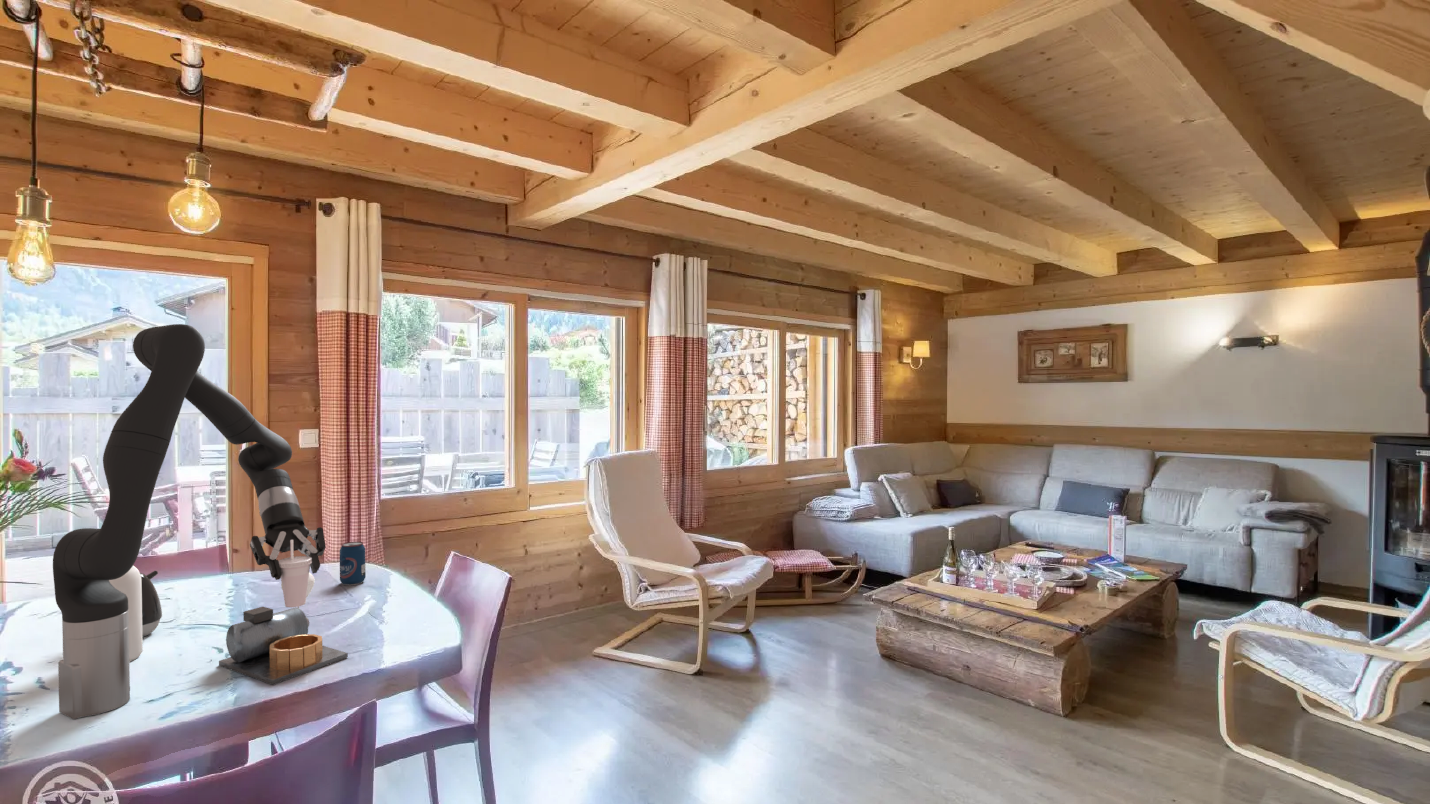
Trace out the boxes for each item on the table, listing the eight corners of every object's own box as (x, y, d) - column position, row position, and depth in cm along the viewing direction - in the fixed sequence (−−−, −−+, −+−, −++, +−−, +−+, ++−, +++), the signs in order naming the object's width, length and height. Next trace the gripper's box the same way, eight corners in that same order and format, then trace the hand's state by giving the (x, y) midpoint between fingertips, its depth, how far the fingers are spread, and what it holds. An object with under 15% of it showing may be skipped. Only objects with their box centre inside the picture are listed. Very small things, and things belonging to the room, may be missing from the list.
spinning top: (274, 613, 183) (273, 567, 183) (298, 604, 190) (297, 560, 190) (298, 615, 181) (298, 569, 181) (321, 606, 189) (321, 562, 188)
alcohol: (100, 670, 146) (97, 528, 145) (82, 662, 150) (79, 524, 150) (150, 656, 154) (148, 521, 153) (131, 649, 158) (129, 517, 157)
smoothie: (271, 606, 147) (270, 540, 147) (301, 598, 153) (300, 534, 153) (289, 611, 144) (288, 544, 144) (319, 602, 150) (318, 538, 150)
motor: (272, 684, 139) (272, 631, 139) (218, 665, 149) (218, 615, 149) (349, 656, 154) (349, 608, 154) (296, 640, 163) (295, 595, 163)
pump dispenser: (173, 630, 170) (172, 568, 170) (127, 645, 160) (126, 580, 160) (142, 626, 173) (141, 565, 173) (95, 641, 163) (94, 576, 163)
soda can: (335, 585, 208) (334, 546, 208) (348, 579, 215) (347, 540, 215) (357, 586, 208) (357, 546, 207) (370, 579, 215) (369, 541, 214)
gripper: (245, 505, 148) (261, 570, 140) (319, 497, 159) (338, 558, 151) (239, 526, 152) (254, 591, 144) (312, 517, 162) (330, 577, 155)
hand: (297, 574), depth 147 cm, fingers closed on smoothie, 6 cm apart
